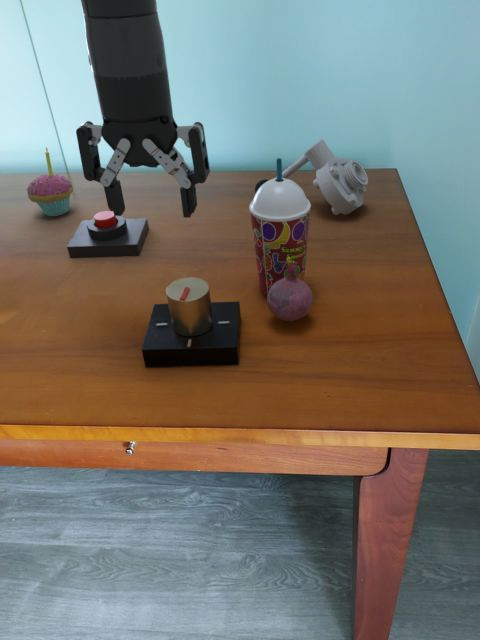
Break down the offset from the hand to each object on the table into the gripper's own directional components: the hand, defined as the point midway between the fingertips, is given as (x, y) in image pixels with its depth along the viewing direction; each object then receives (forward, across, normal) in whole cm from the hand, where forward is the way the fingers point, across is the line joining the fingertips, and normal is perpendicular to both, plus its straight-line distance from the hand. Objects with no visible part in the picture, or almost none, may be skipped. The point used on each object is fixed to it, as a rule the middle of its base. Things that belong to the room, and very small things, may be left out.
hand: (153, 214), depth 64 cm
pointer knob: (+14, -4, +4) cm, 15 cm away
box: (+17, +17, -23) cm, 33 cm away
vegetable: (+17, -17, -2) cm, 24 cm away
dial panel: (+17, -4, +4) cm, 18 cm away
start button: (+13, +17, -23) cm, 32 cm away
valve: (+16, -18, -39) cm, 46 cm away
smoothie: (+17, -15, -10) cm, 24 cm away
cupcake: (+17, +32, -36) cm, 51 cm away
